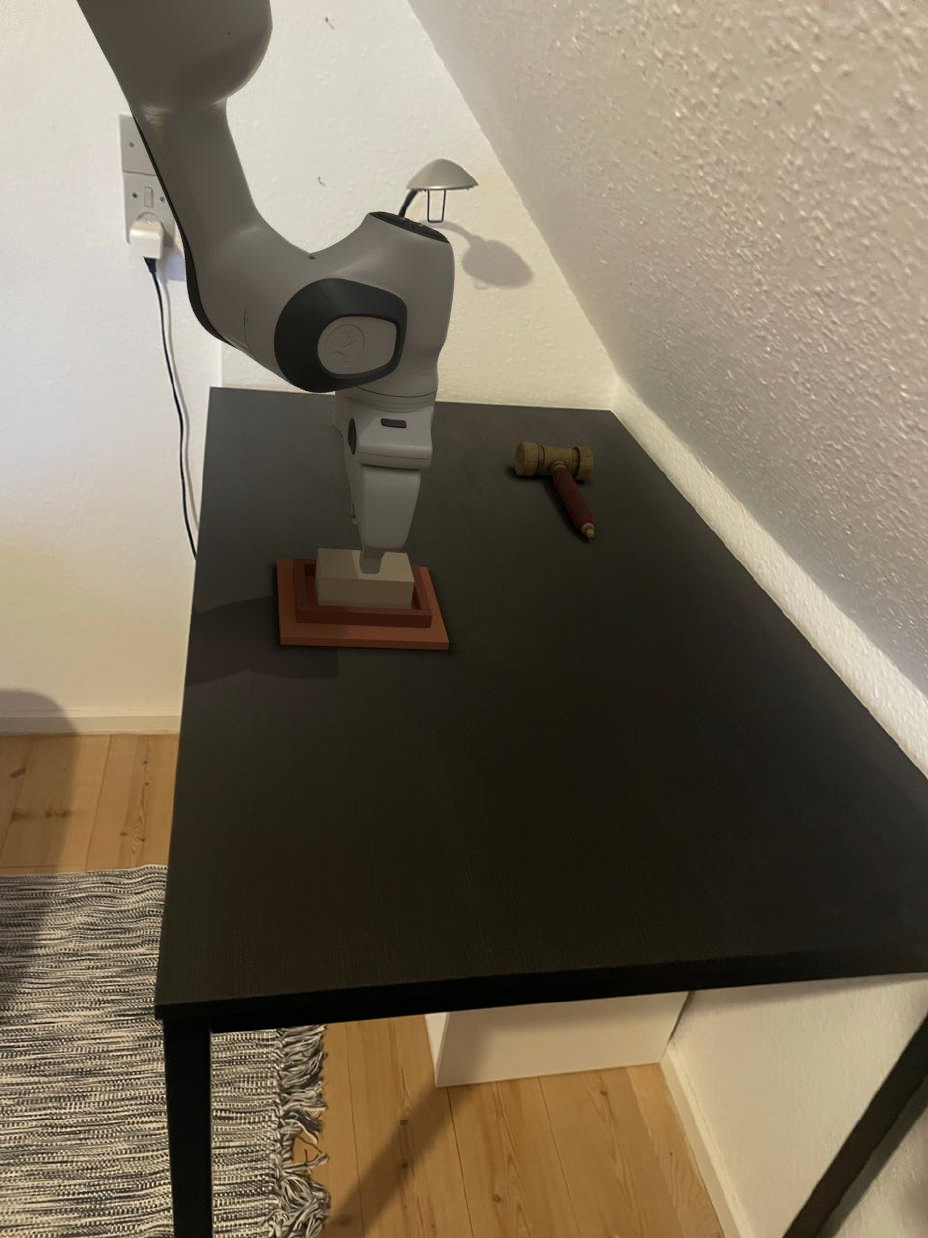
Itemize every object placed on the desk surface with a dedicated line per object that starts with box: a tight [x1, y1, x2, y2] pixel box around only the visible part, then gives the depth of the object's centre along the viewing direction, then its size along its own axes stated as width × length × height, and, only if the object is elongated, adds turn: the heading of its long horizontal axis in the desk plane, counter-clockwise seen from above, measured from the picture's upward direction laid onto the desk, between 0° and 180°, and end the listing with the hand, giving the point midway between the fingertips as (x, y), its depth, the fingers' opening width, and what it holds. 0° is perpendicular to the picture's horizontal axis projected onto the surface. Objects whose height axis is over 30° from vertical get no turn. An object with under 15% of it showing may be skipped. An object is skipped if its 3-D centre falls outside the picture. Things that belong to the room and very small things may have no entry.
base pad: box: [276, 558, 450, 651], centre depth 95 cm, size 16×14×2 cm
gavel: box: [514, 441, 595, 539], centre depth 124 cm, size 21×5×10 cm
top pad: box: [315, 547, 414, 609], centre depth 94 cm, size 9×6×4 cm, turn 100°
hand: (363, 544), depth 91 cm, fingers open, 8 cm apart
